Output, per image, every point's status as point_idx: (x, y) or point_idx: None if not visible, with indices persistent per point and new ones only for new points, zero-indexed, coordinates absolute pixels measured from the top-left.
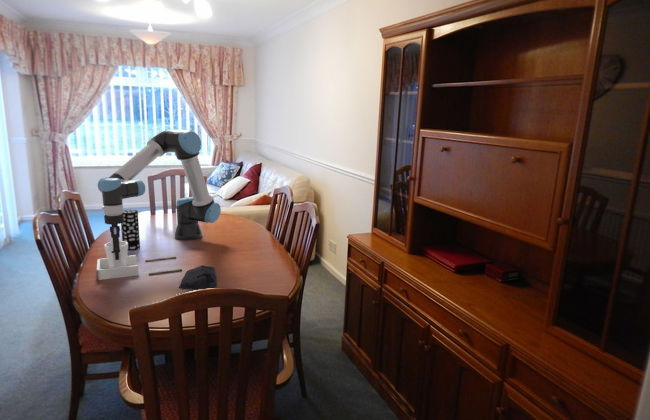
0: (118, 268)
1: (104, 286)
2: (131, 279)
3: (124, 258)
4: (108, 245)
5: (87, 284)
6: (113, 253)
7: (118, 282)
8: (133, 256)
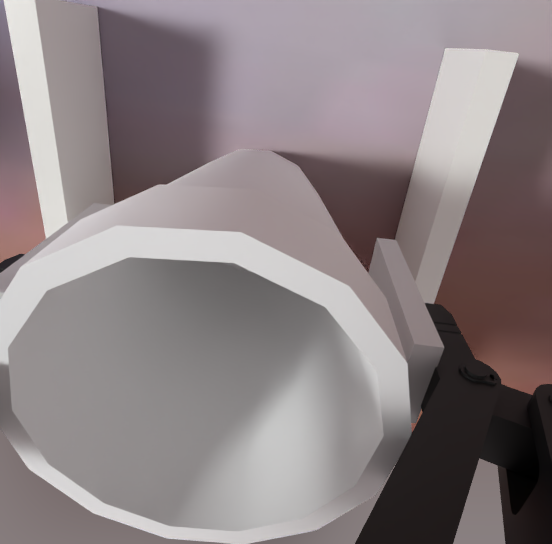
0: (443, 271)
1: (542, 342)
2: (545, 143)
3: (326, 215)
4: (114, 458)
5: None
6: (415, 411)
7: (534, 252)
8: (45, 38)
